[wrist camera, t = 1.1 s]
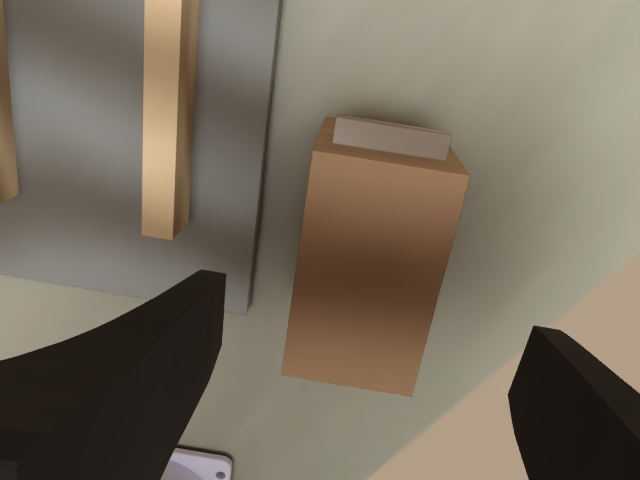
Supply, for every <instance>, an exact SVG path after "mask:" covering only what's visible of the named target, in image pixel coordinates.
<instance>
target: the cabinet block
mask: <svg viewBox="0 0 640 480" xmlns="http://www.w3.org/2000/svg"><path fill="white" fill-rule="evenodd" d="M451 137H452V136H451V134H450V133H449V132H447V131H441V130H435V129H429V128H422V127H416V126H410V125H404V124H397V123H391V122H385V121H379V120H372V119H366V118H360V117H354V116H347V115H341V114H337V117H336V119H334V118H327V117H326V119H325V121H324V124H323V126H322V129H321V131H320V134H319V136H318V139H317V141H316V144H315V146H314V149H313V152H312V159H311V166H310V174H309V181H308V188H307V195H306V202H305V209H304V216H303V223H302V230H301V237H300V244H299V252H298V259H297V266H296V273H295V280H294V287H293V294H292V301H291V308H290V315H289V322H288V330H287V337H286V344H285V351H284V358H283V365H282V372H281V375H286V376H291V377H297V378H303V379H309V380H315V381H321V382H327V383H333V384H339V385H345V386H351V387H357V388H363V389H369V390H375V391H381V392H387V393H393V394H399V395H405V396H411V397H412V393H413V390H414V386H415V382H416V378H417V374H418V371H419V367H420V363H421V359H422V356H423V352H424V348H425V344H426V340H427V337H428V333H429V329H430V325H431V322H432V318H433V314H434V310H435V306H436V303H437V299H438V295H439V291H440V288H441V284H442V280H443V276H444V272H445V269H446V265H447V261H448V257H449V254H450V250H451V246H452V242H453V238H454V235H455V231H456V227H457V223H458V220H459V216H460V212H461V208H462V204H463V201H464V197H465V193H466V189H467V186H468V182H469V178H470V175H469V174H468V172H467V171H466V169H465V168H464V167H463V165H462V164H461V162H460V161H459V160H458V158H457V157H456V155H455V154H454V152H453V151H452V150H451V148H450V147H449V145H450V141H451Z"/></svg>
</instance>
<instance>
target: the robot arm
mask: <svg viewBox="0 0 640 480" xmlns="http://www.w3.org/2000/svg"><path fill="white" fill-rule="evenodd" d="M226 276H227V274H226V273H221V272H215V271H209V270H203V269H201V270H199V271H197V272H195V273H194V274H192V275H191V276H189V277H187V278H186V279H184V280H182V281H181V282H179V283H178V284H176V285H174V286H173V287H171V288H170V289H168V290H166V291H165V292H163V293H161V294H159V295H158V296H156V297H154V298H153V299H151V300H149V301H148V302H146V303H144V304H142V305H140V306H138V307H137V308H135V309H133V310H131V311H129V312H127V313H125V314H123V315H121V316H119V317H118V318H116V319H114V320H112V321H110V322H108V323H105V324H103V325H101V326H99V327H97V328H94V329H92V330H90V331H87V332H85V333H82V334H80V335H78V336H75V337H73V338H70V339H67V340H65V341H62V342H59V343H56V344H53V345H50V346H47V347H44V348H41V349H38V350H35V351H32V352H29V353H26V354H23V355H20V356H16V357H13V358H9V359H5V360H1V361H0V480H231V472H232V461H231V460H230V459H229V458H228V457H226V456H221V455H215V454H210V453H204V452H198V451H192V450H186V449H180V448H176V446H177V444H178V442H179V440H180V438H181V436H182V434H183V432H184V430H185V428H186V426H187V424H188V422H189V420H190V418H191V416H192V414H193V412H194V410H195V408H196V406H197V404H198V402H199V400H200V398H201V396H202V394H203V392H204V390H205V388H206V386H207V384H208V382H209V380H210V377H211V374H212V372H213V369H214V366H215V363H216V360H217V357H218V354H219V351H220V348H221V345H222V333H223V319H224V304H225V290H226ZM508 398H509V405H510V412H511V418H512V423H513V428H514V434H515V437H516V441H517V444H518V447H519V450H520V453H521V457H522V460H523V463H524V466H525V469H526V472H527V475H528V478H529V480H640V393H638V392H637V391H636V390H635V389H633V388H632V387H631V386H630V385H628V384H627V383H626V382H624V381H623V380H622V379H621V378H619V376H617V375H616V374H615V373H614V372H613V371H611V370H610V369H609V368H608V367H607V366H605V365H604V364H603V363H602V362H601V361H599V360H598V359H597V358H596V357H594V356H593V355H592V354H591V353H590V352H589V351H587V350H586V349H585V348H584V347H582V346H581V345H580V344H579V343H577V342H576V341H575V340H573V339H572V338H571V337H570V336H568V335H567V334H565V333H564V332H562V331H561V330H556V329H551V328H545V327H539V326H533V328H532V331H531V334H530V337H529V339H528V342H527V345H526V347H525V350H524V353H523V355H522V358H521V361H520V364H519V366H518V369H517V371H516V374H515V377H514V379H513V382H512V385H511V387H510V390H509V393H508ZM220 472H223V473H220Z"/></svg>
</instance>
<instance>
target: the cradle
mask: <svg viewBox="0 0 640 480" xmlns="http://www.w3.org/2000/svg"><path fill="white" fill-rule="evenodd" d="M281 6H282V0H0V275H5V276H11V277H17V278H23V279H29V280H35V281H42V282H48V283H54V284H60V285H66V286H72V287H78V288H84V289H90V290H96V291H103V292H109V293H115V294H121V295H127V296H133V297H139V298H145V299H153V298H154V297H156V296H158V295H159V294H161V293H163V292H165V291H166V290H168V289H170V288H171V287H173V286H174V285H176V284H178V283H179V282H181V281H182V280H184V279H186V278H187V277H189V276H191V275H192V274H194V273H195V272H197V271H199V270H201V269H203V270H209V271H215V272H221V273H226V274H227V276H226V290H225V304H224V312H230V313H237V314H243V315H246V314H247V312H248V309H249V307H250V299H251V290H252V280H253V271H254V261H255V252H256V242H257V233H258V223H259V214H260V205H261V195H262V186H263V176H264V167H265V157H266V148H267V138H268V129H269V120H270V110H271V101H272V91H273V82H274V72H275V63H276V53H277V44H278V35H279V25H280V16H281Z"/></svg>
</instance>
